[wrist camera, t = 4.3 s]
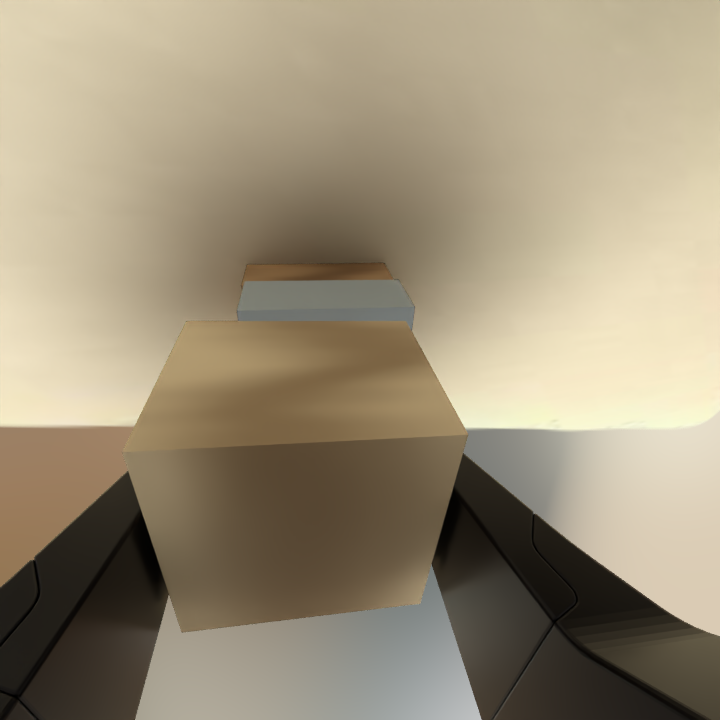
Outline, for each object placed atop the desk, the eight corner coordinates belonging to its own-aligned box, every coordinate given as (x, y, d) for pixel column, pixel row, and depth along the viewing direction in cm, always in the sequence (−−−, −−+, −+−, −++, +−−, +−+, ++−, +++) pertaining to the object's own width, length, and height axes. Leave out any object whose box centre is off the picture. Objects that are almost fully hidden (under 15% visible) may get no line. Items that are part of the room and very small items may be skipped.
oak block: (406, 320, 10) (467, 434, 6) (384, 467, 12) (420, 603, 9) (186, 320, 9) (122, 451, 5) (213, 478, 11) (181, 632, 8)
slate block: (398, 279, 19) (414, 307, 16) (386, 397, 22) (398, 434, 20) (244, 281, 18) (236, 310, 15) (259, 404, 21) (254, 444, 19)
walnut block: (382, 260, 21) (394, 281, 19) (375, 369, 25) (384, 399, 22) (247, 262, 20) (241, 285, 18) (261, 375, 24) (257, 407, 21)
